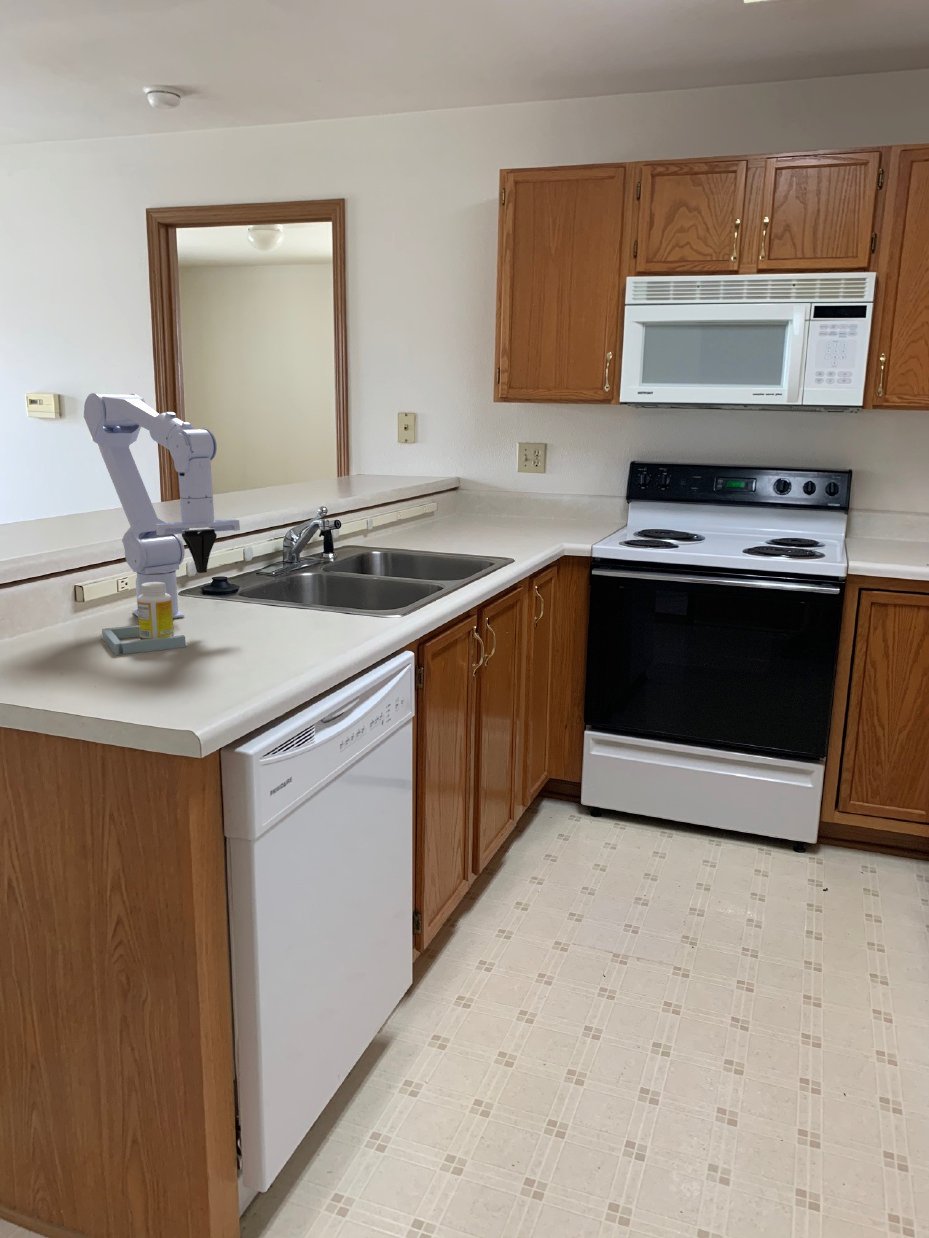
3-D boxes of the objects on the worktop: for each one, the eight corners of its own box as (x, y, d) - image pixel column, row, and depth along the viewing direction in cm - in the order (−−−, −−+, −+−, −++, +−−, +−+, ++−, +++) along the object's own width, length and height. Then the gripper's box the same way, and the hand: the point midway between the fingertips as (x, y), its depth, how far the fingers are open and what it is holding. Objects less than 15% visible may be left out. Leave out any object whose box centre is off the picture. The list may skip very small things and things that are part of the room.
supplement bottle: (176, 637, 162) (173, 580, 160) (170, 645, 157) (167, 586, 154) (143, 638, 161) (140, 581, 159) (137, 646, 156) (133, 587, 154)
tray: (102, 638, 160) (101, 628, 160) (169, 631, 166) (168, 622, 166) (115, 655, 150) (114, 644, 150) (185, 646, 156) (185, 636, 155)
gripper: (160, 500, 157) (166, 578, 160) (242, 497, 165) (247, 571, 167) (151, 498, 163) (157, 573, 166) (231, 494, 170) (235, 566, 173)
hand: (201, 572), depth 167 cm, fingers closed
